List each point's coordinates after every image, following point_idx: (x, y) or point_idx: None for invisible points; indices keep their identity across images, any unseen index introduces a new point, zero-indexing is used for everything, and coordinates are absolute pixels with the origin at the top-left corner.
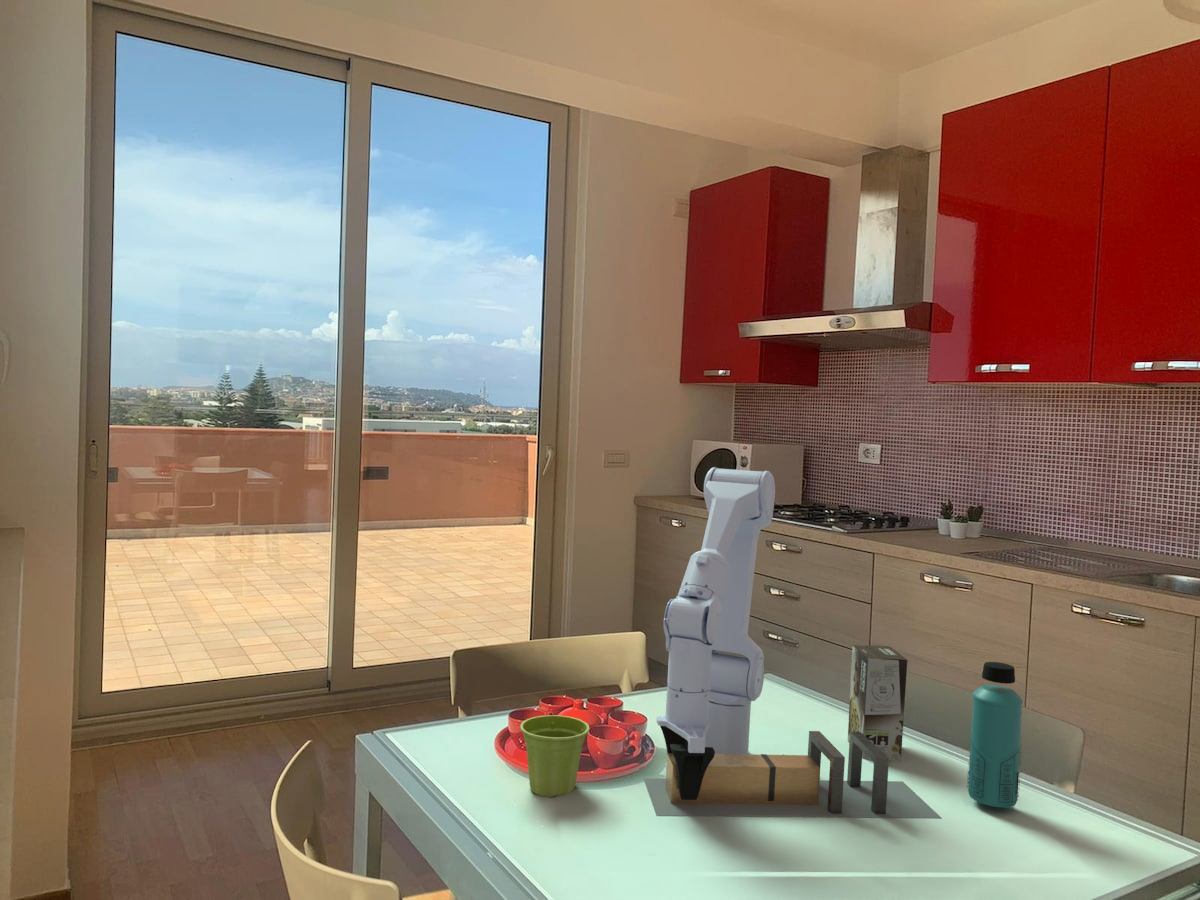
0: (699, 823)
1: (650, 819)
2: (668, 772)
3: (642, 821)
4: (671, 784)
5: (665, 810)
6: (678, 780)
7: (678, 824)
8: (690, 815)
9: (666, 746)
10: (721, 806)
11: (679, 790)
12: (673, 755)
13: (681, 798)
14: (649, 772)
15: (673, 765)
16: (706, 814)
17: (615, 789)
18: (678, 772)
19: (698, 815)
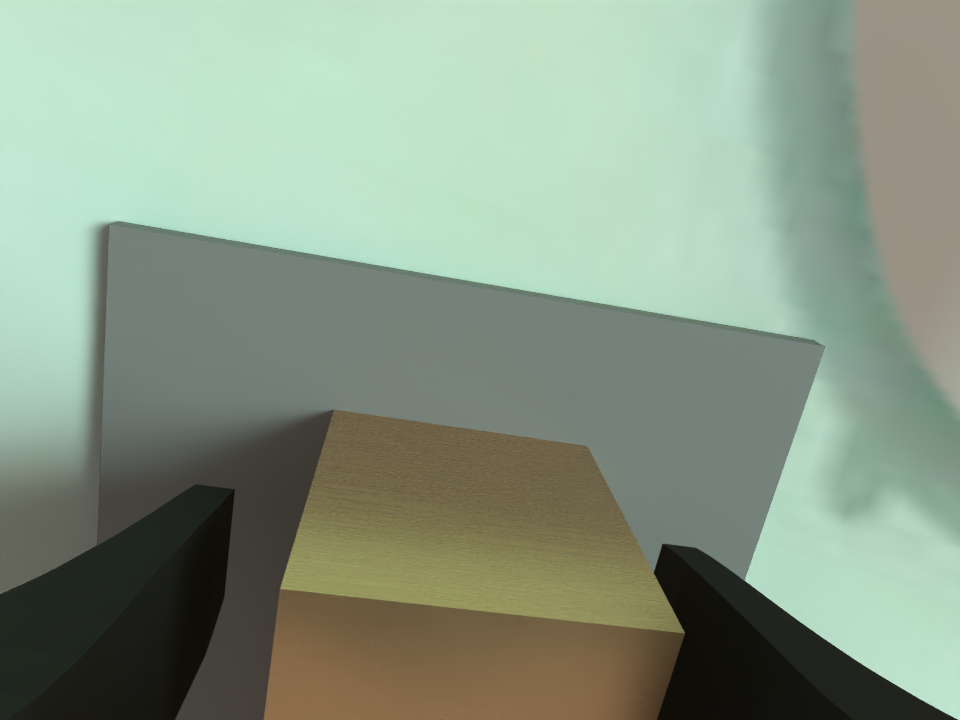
0: (41, 506)
1: (114, 169)
2: (515, 521)
3: (75, 87)
4: (332, 476)
5: (204, 327)
6: (154, 544)
7: (21, 358)
8: (108, 481)
9: (862, 679)
10: (247, 713)
11: (182, 504)
12: (599, 678)
13: (190, 487)
14: (940, 432)
15: (290, 598)
16: None
17: (727, 56)
18: (19, 591)
19: (106, 534)
